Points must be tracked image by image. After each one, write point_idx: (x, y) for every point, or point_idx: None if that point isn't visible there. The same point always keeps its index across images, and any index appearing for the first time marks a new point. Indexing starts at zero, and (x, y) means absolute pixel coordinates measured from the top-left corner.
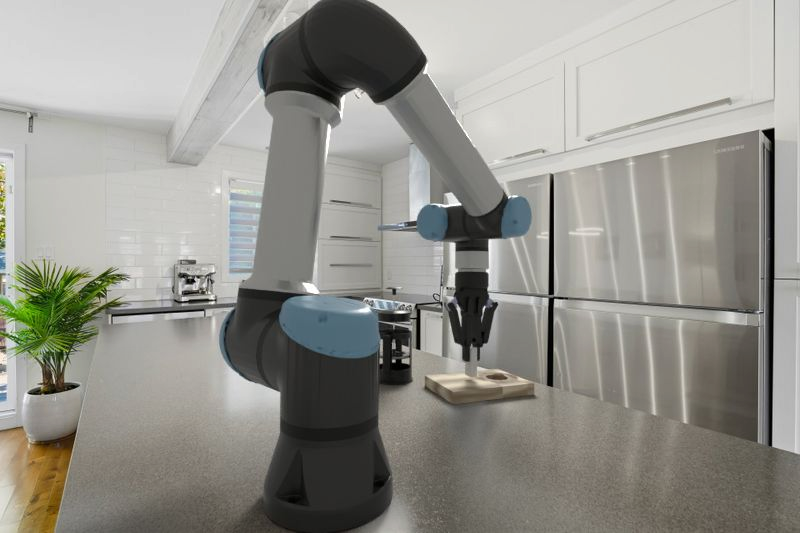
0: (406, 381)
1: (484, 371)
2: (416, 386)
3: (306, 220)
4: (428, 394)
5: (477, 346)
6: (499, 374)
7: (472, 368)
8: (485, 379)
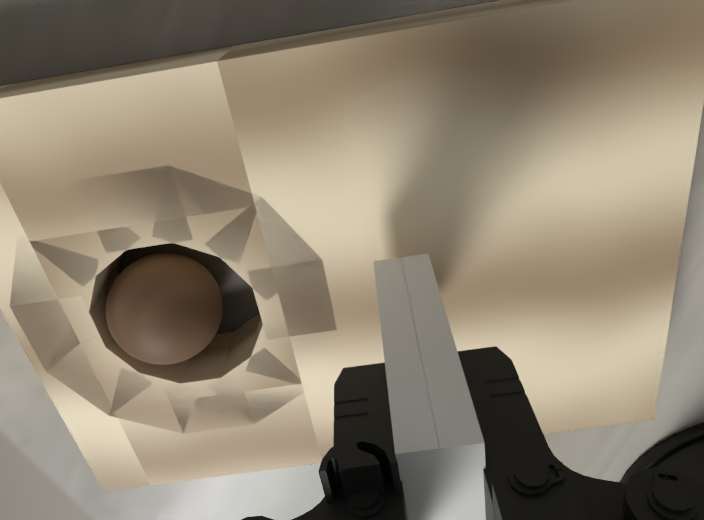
0: (698, 436)
1: (216, 451)
2: (668, 376)
3: None
4: (692, 225)
5: (385, 474)
6: (153, 314)
7: (425, 296)
8: (285, 278)
